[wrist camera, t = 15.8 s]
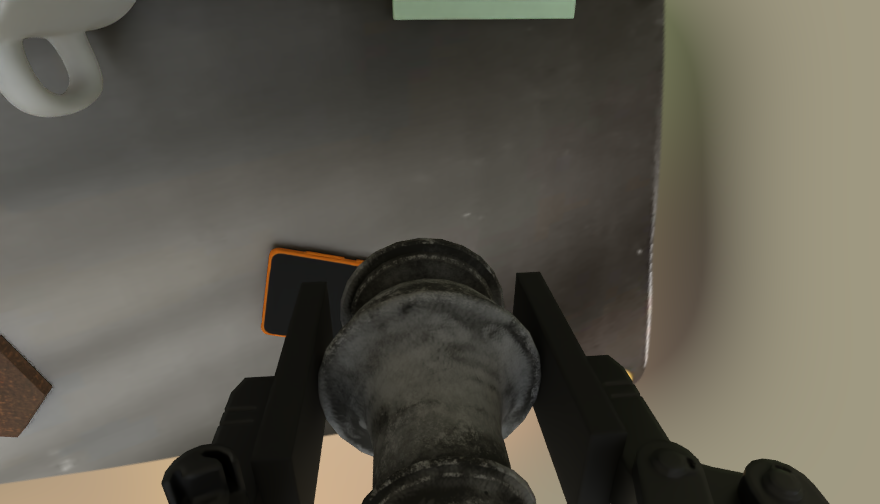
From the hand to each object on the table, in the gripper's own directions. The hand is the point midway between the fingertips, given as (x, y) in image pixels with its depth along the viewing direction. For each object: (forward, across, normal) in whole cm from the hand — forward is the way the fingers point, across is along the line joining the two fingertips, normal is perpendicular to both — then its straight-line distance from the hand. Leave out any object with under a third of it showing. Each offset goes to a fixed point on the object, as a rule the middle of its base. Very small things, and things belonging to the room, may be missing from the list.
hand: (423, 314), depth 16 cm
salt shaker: (0, 0, 0) cm, 0 cm away
